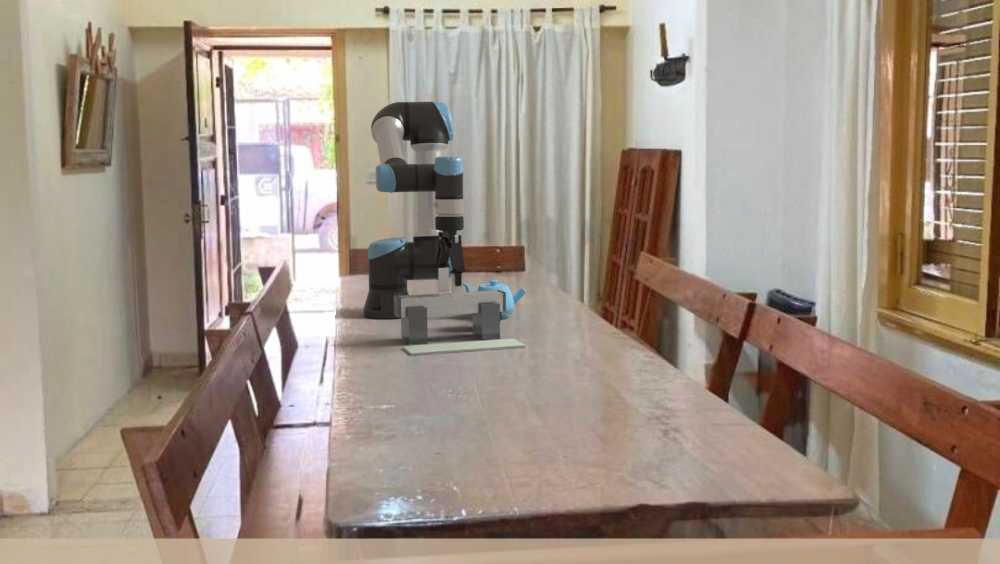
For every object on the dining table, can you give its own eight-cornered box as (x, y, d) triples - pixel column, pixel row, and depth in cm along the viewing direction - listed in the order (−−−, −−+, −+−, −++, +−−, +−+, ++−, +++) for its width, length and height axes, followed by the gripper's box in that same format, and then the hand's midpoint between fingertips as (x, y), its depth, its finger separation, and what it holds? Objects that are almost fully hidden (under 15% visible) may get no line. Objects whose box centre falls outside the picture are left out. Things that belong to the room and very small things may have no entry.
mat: (403, 348, 257) (403, 346, 257) (513, 340, 266) (513, 338, 266) (411, 355, 249) (411, 353, 249) (525, 347, 258) (525, 345, 258)
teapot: (493, 323, 292) (493, 285, 290) (460, 318, 301) (459, 280, 300) (528, 316, 303) (528, 279, 302) (494, 311, 312) (494, 275, 311)
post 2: (472, 333, 276) (472, 299, 275) (489, 332, 278) (489, 298, 277) (482, 339, 268) (482, 304, 267) (500, 338, 269) (499, 303, 268)
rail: (398, 317, 262) (397, 298, 261) (394, 314, 267) (393, 295, 266) (505, 311, 271) (505, 292, 270) (499, 308, 276) (499, 289, 275)
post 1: (401, 338, 270) (400, 303, 269) (419, 337, 272) (418, 302, 270) (409, 344, 262) (408, 309, 260) (427, 343, 263) (427, 307, 262)
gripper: (424, 213, 276) (425, 289, 278) (448, 218, 252) (449, 301, 255) (450, 212, 278) (451, 288, 281) (476, 217, 255) (477, 300, 257)
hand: (450, 295), depth 268 cm, fingers open, 13 cm apart
